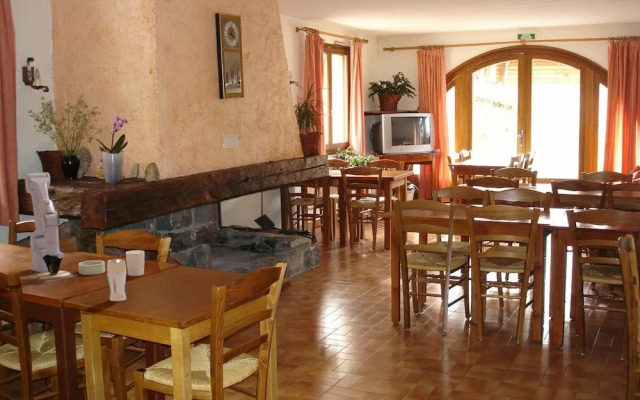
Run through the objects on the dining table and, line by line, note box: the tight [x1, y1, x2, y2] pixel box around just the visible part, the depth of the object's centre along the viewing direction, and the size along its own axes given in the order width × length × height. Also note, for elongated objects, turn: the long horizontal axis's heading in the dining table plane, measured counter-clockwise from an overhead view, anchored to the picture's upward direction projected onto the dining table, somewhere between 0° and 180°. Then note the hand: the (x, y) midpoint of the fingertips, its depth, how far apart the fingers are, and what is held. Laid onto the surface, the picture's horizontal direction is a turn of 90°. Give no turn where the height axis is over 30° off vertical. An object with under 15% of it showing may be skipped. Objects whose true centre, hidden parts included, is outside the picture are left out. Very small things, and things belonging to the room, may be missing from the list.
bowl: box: [78, 259, 106, 276], centre depth 316 cm, size 11×11×4 cm
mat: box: [28, 272, 80, 283], centre depth 309 cm, size 15×15×1 cm
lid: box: [37, 265, 71, 280], centre depth 308 cm, size 13×13×5 cm
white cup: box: [125, 249, 145, 277], centre depth 312 cm, size 8×8×10 cm
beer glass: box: [106, 258, 127, 303], centre depth 271 cm, size 7×7×15 cm
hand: (53, 272), depth 308 cm, fingers closed on lid, 3 cm apart
